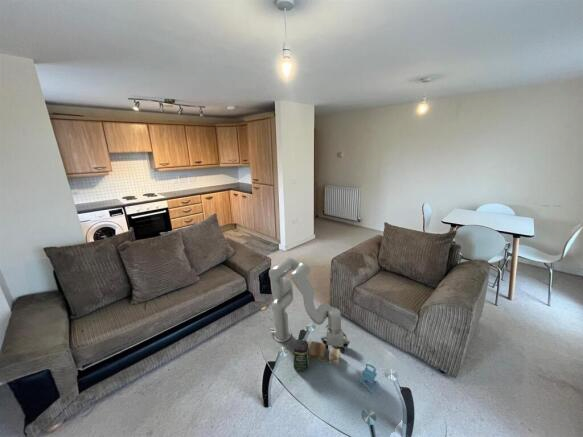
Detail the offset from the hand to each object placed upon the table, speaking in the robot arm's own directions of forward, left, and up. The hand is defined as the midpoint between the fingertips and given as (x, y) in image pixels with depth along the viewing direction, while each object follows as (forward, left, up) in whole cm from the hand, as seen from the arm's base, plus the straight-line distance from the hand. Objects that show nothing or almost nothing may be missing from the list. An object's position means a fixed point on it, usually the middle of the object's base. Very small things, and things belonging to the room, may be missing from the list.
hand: (335, 350), depth 148 cm
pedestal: (-12, +3, -9) cm, 15 cm away
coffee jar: (-20, -8, -9) cm, 23 cm away
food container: (+2, +12, -9) cm, 15 cm away
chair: (+20, -11, -9) cm, 24 cm away
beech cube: (-1, 0, -8) cm, 8 cm away
